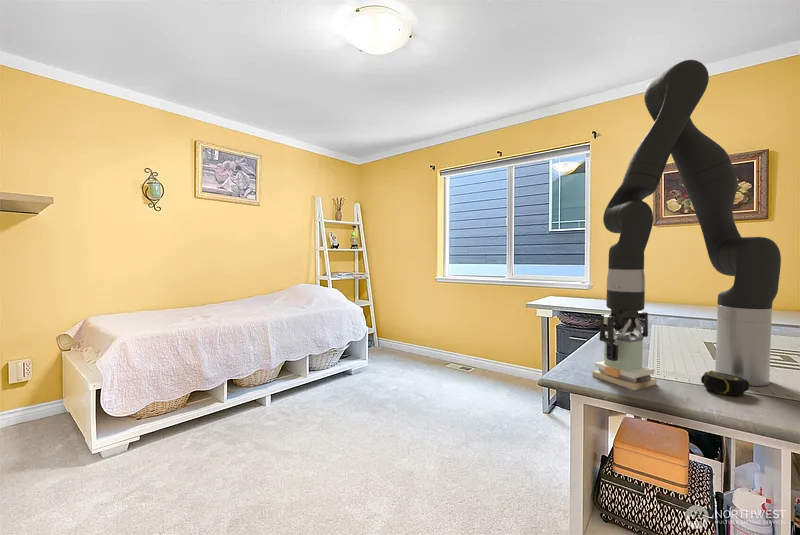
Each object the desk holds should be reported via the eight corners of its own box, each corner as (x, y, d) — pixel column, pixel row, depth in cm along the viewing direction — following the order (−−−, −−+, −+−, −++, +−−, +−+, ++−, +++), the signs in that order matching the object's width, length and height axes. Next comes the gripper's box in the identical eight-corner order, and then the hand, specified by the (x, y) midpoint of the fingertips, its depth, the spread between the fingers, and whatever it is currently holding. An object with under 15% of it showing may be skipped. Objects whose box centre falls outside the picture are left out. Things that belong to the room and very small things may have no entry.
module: (616, 361, 88) (617, 332, 88) (642, 368, 83) (642, 337, 83) (604, 363, 86) (604, 334, 86) (629, 371, 81) (630, 340, 81)
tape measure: (750, 395, 76) (751, 377, 76) (736, 401, 73) (736, 382, 73) (710, 384, 82) (711, 368, 82) (695, 390, 79) (696, 373, 79)
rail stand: (613, 371, 91) (613, 361, 91) (656, 384, 82) (656, 373, 82) (592, 376, 87) (592, 366, 87) (634, 390, 78) (634, 379, 78)
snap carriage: (614, 366, 90) (614, 358, 90) (654, 378, 82) (654, 368, 82) (592, 371, 87) (592, 363, 87) (631, 384, 78) (631, 374, 78)
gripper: (622, 291, 77) (620, 366, 78) (660, 288, 83) (659, 358, 84) (590, 288, 84) (588, 357, 85) (628, 286, 90) (626, 350, 91)
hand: (623, 357), depth 84 cm, fingers open, 8 cm apart
